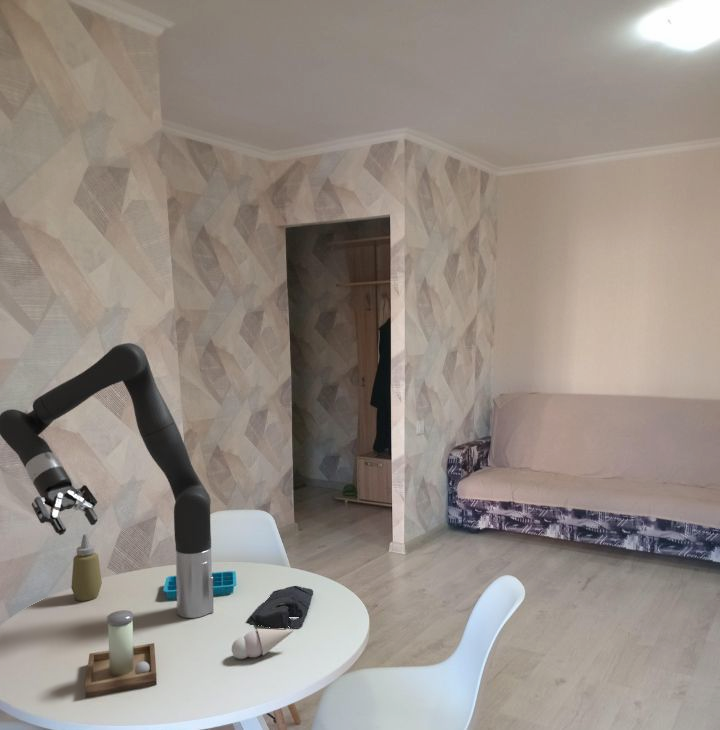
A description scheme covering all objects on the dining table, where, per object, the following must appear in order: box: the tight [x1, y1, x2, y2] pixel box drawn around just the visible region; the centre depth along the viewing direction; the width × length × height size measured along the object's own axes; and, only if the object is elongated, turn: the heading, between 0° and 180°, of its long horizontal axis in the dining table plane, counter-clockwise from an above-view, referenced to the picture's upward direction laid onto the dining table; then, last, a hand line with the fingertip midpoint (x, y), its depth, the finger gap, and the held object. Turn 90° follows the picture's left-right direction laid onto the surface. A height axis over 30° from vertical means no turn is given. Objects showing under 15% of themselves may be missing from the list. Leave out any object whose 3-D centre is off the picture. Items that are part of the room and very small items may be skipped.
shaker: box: [107, 609, 134, 676], centre depth 140 cm, size 5×5×12 cm
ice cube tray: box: [163, 570, 237, 600], centre depth 186 cm, size 12×20×3 cm, turn 102°
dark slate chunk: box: [246, 585, 314, 629], centre depth 172 cm, size 15×22×5 cm
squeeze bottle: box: [70, 533, 103, 602], centre depth 180 cm, size 8×8×18 cm
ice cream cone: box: [231, 628, 295, 660], centre depth 148 cm, size 6×6×15 cm
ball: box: [135, 661, 150, 674], centre depth 137 cm, size 3×3×3 cm
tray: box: [84, 642, 158, 698], centre depth 140 cm, size 14×14×2 cm
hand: (79, 527), depth 152 cm, fingers open, 8 cm apart
